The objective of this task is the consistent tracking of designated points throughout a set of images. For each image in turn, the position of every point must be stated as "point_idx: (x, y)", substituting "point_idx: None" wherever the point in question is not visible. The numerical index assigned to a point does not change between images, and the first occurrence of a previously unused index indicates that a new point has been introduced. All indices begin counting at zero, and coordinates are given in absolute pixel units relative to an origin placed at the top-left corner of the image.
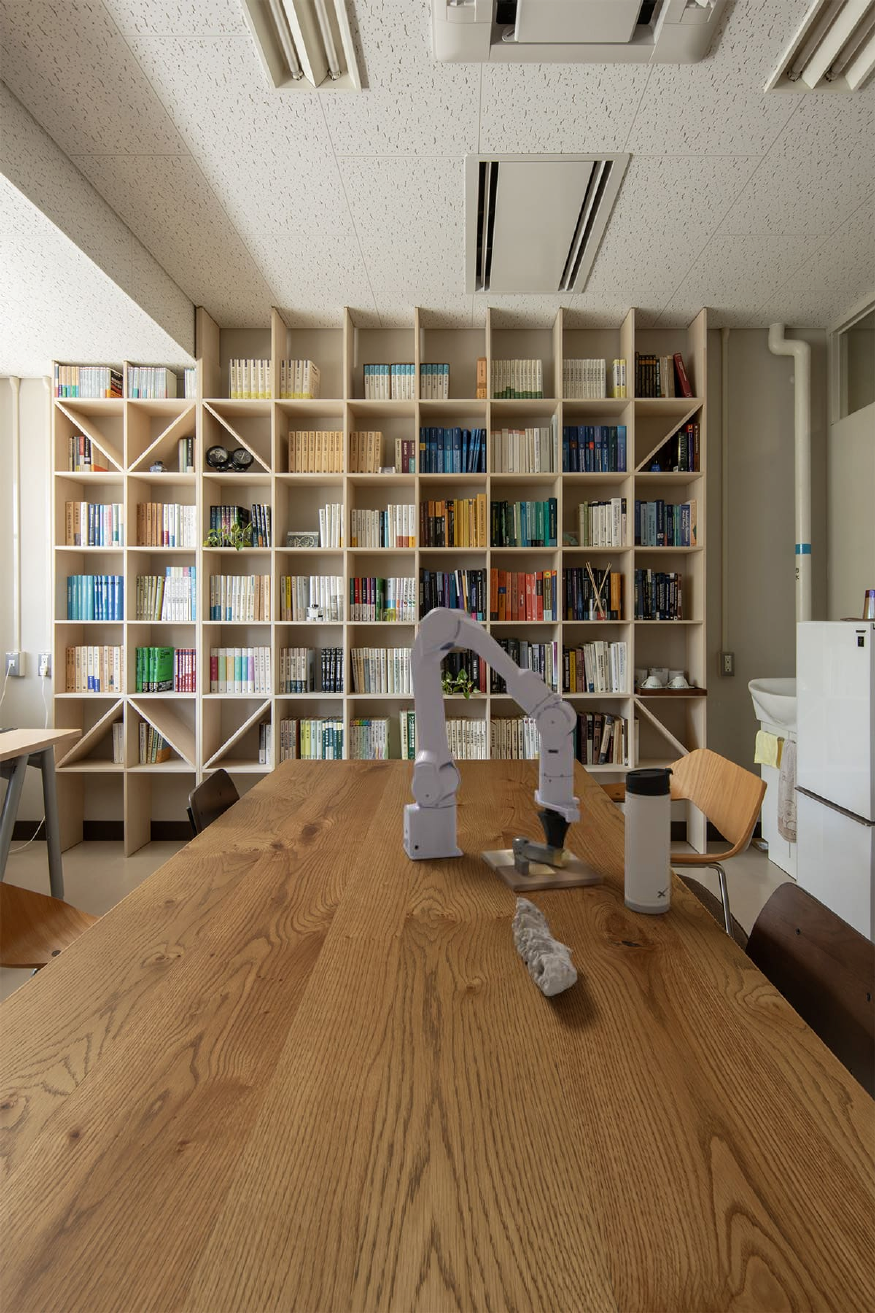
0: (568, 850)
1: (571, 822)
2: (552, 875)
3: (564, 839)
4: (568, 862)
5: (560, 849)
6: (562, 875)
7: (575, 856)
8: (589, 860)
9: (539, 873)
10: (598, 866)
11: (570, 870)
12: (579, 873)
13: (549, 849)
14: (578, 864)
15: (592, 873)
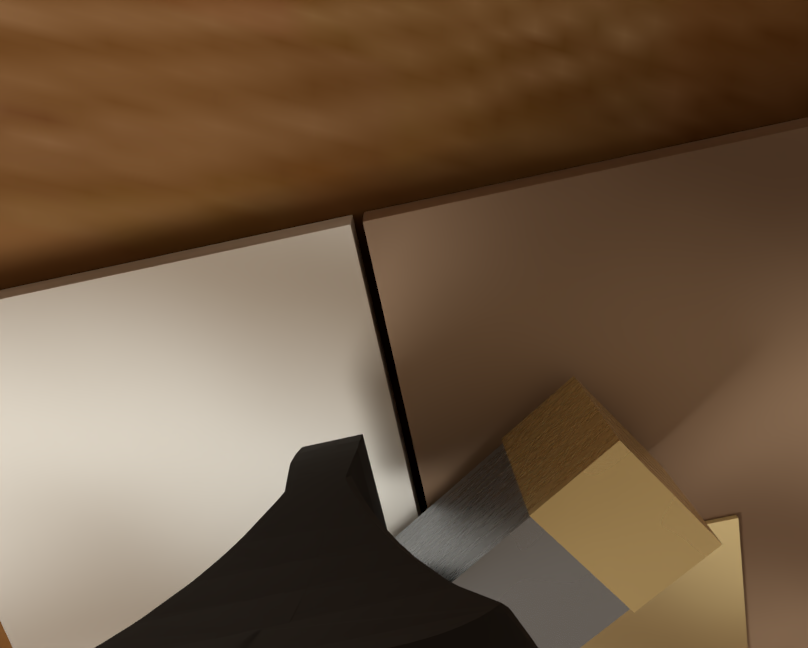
0: (636, 461)
1: (463, 588)
2: (773, 547)
3: (355, 488)
4: (596, 402)
5: (590, 541)
6: (789, 471)
7: (254, 250)
8: (185, 72)
9: (728, 638)
10: (384, 21)
11: (677, 383)
12: (768, 318)
13: (563, 644)
14: (517, 274)
15: (798, 194)
